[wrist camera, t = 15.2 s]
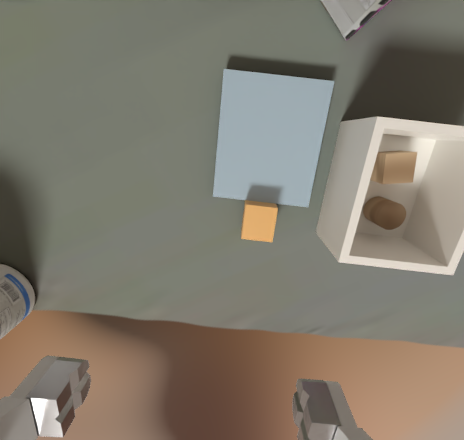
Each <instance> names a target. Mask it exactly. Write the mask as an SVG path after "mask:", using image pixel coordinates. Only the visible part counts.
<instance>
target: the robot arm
mask: <svg viewBox="0 0 464 440" xmlns="http://www.w3.org/2000/svg"><path fill="white" fill-rule="evenodd" d="M88 368H89V363H88V360H82V359H74V358H65V357H55V356H46V357H44V358H43V359H41V361H40V362H39V363H38V364H37V365H36V366H35V368H34V369H33V370H32V371H31V372H30V373H29V374H28V376H27V377H26V378H25V379H24V380H23V381H22V383H21V384H20V385H19V386H18V387H17V388H16V389H15V391H14V392H13V393H12V394H11V395H10V396H9V397H4V398H2V399H0V440H36V439H37V438H38V436H49V437H64V435H65V433H66V432H67V430H68V428H69V426H70V425H71V423H72V421H73V419H74V417H75V411H74V410H75V409H76V408H78V407H79V406H80V405H82V404H83V402H84V400H85V398H86V396H87V394H88V391H89V388H90V382H91V379H90V375H89V374H88V373H87V372H86V371H87V370H88ZM296 387H297V392H296V393H295V394H294V396H293V417H294V422H295V424H296V425H297V426H298V428H299V432H298V435H297V438H298V440H373V439H372V438H371V437H370V436H369V435H368V434H367V433H366V432H365V431H364V430H363V429H362V428H357V425H356V423H355V420H354V418H353V415H352V413H351V410H350V408H349V406H348V403H347V401H346V398H345V396H344V393H343V391H342V388H341V386H340V384H339V383H338V382H332V381H323V380H310V379H298V380H297V384H296Z"/></svg>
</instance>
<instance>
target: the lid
mask: <svg viewBox="0 0 464 440" xmlns="http://www.w3.org/2000/svg"><path fill="white" fill-rule="evenodd" d="M333 85H334V81H328V80H319V79H310V78H302V77H293V76H284V75H275V74H266V73H257V72H248V71H239V70H230V69H224V74H223V86H222V97H221V109H220V121H219V132H218V144H217V156H216V167H215V179H214V191H213V196H214V197H223V198H231V199H240V200H245V205H244V213H243V221H242V228H241V239H248V240H256V241H265V242H272V241H273V235H274V229H275V223H276V217H277V211H278V207H277V205H276V204H284V205H293V206H302V207H308V206H309V201H310V196H311V191H312V186H313V182H314V177H315V172H316V167H317V162H318V157H319V153H320V148H321V143H322V138H323V133H324V129H325V124H326V119H327V114H328V109H329V105H330V100H331V95H332V90H333Z"/></svg>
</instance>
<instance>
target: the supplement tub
mask: <svg viewBox="0 0 464 440" xmlns="http://www.w3.org/2000/svg"><path fill="white" fill-rule="evenodd" d="M34 304H35V294H34V290H33V288H32V286H31V284H30V282H29V281H28V280H27V279H26V278H25V276H23V275H22V274H21V273H20V272H18V271H17V270H15V269H14V268H12V267H9V266H7V265H3V264H0V339H1V338H2V337H3V336H5V335H6V334H7V333H8V332H9V331H10V330H11V329H13V328H14V327H15V326H16V325H17V324H18V323H19V322H21V321H22V320H23V319H24V318H25V317H26V316H27V315H29V313H30V312H31V311H32V309H33V307H34Z"/></svg>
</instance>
